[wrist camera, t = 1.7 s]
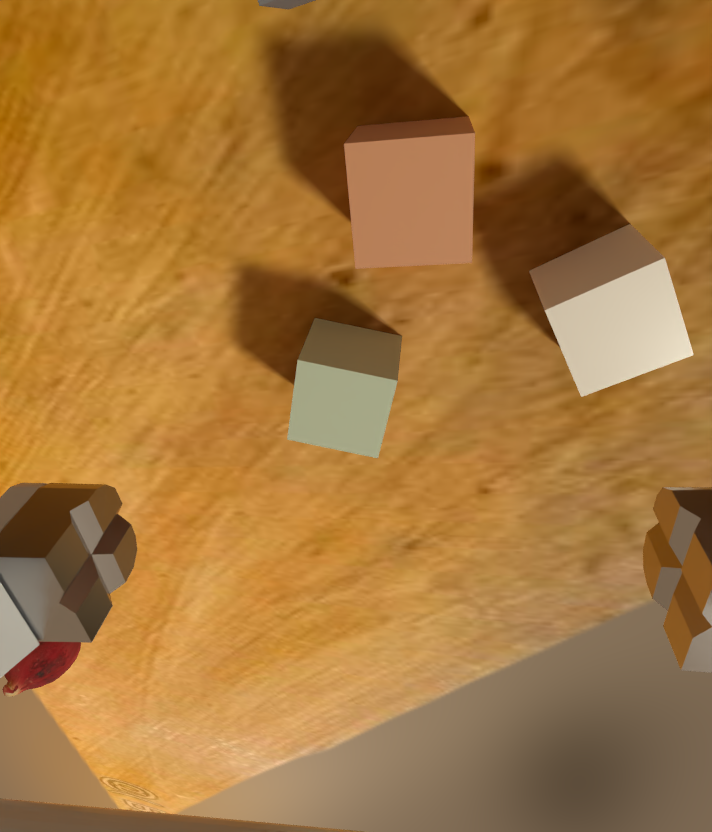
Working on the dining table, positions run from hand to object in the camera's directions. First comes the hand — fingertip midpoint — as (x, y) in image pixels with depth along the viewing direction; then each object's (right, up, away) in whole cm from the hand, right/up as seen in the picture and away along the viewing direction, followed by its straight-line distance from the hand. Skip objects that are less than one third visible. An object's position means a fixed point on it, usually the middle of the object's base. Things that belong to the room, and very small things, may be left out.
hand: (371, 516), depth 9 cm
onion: (-26, -16, +42) cm, 52 cm away
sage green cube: (0, +5, +25) cm, 25 cm away
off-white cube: (+12, +8, +21) cm, 25 cm away
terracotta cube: (+3, +13, +19) cm, 23 cm away
